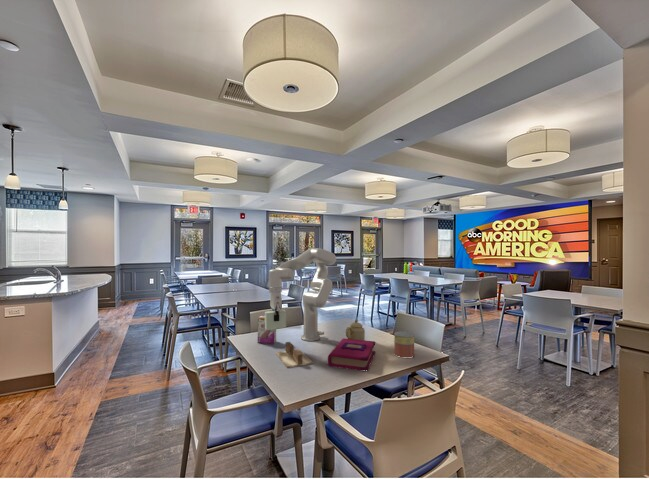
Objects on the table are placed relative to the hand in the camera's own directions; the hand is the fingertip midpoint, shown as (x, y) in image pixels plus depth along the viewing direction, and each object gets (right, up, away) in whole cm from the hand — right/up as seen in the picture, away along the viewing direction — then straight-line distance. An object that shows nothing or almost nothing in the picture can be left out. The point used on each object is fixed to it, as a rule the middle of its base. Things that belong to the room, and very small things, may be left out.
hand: (275, 319), depth 181 cm
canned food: (+76, -19, -7) cm, 78 cm away
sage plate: (0, -5, 0) cm, 5 cm away
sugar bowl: (+50, -19, +14) cm, 55 cm away
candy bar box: (-8, -18, +13) cm, 23 cm away
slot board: (+12, -17, -15) cm, 26 cm away
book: (+45, -19, -14) cm, 51 cm away
